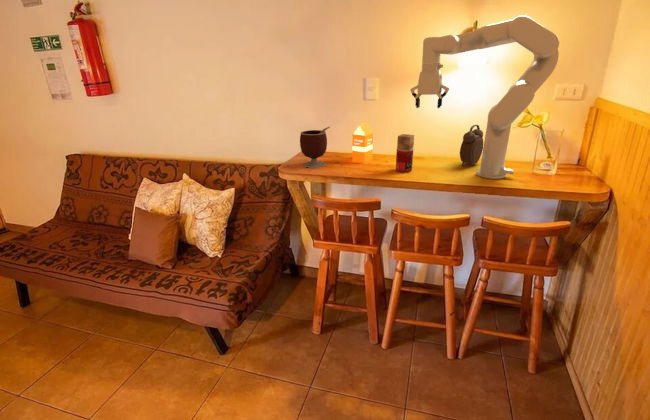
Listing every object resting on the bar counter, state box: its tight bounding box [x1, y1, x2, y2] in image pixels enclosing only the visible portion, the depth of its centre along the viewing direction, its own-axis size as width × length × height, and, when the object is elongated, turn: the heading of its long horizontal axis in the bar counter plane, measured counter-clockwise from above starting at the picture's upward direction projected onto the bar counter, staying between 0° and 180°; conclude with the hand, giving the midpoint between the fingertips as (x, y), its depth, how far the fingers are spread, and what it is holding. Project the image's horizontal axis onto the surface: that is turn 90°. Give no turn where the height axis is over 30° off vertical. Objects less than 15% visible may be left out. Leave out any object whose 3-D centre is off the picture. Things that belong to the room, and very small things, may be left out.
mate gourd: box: [299, 126, 330, 169], centre depth 181 cm, size 16×14×20 cm
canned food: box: [395, 147, 414, 173], centre depth 170 cm, size 8×8×11 cm
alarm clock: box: [459, 124, 484, 167], centre depth 175 cm, size 15×7×20 cm, turn 135°
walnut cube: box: [396, 133, 415, 150], centre depth 167 cm, size 6×6×6 cm
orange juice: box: [351, 121, 374, 164], centre depth 187 cm, size 8×9×20 cm
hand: (428, 107), depth 163 cm, fingers open, 9 cm apart
